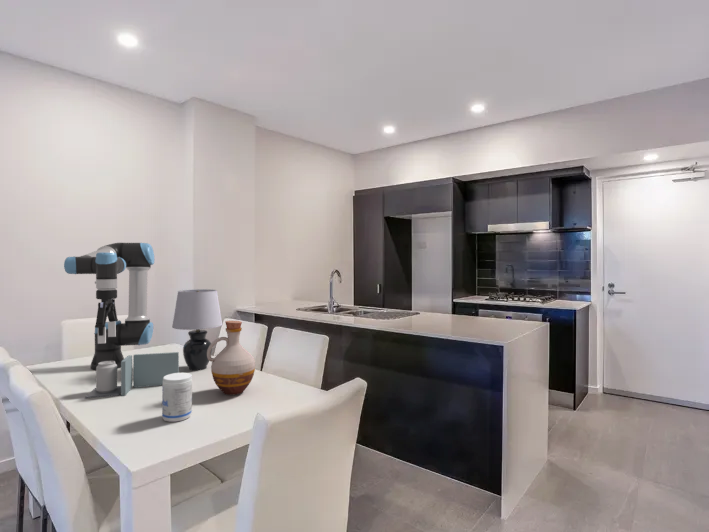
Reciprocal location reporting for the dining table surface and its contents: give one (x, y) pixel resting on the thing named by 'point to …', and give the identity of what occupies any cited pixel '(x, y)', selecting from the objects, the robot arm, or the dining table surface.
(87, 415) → the dining table surface
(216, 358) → the jug
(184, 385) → the supplement tub
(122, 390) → the screen
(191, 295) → the lamp
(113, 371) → the can
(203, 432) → the dining table surface
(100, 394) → the coaster
